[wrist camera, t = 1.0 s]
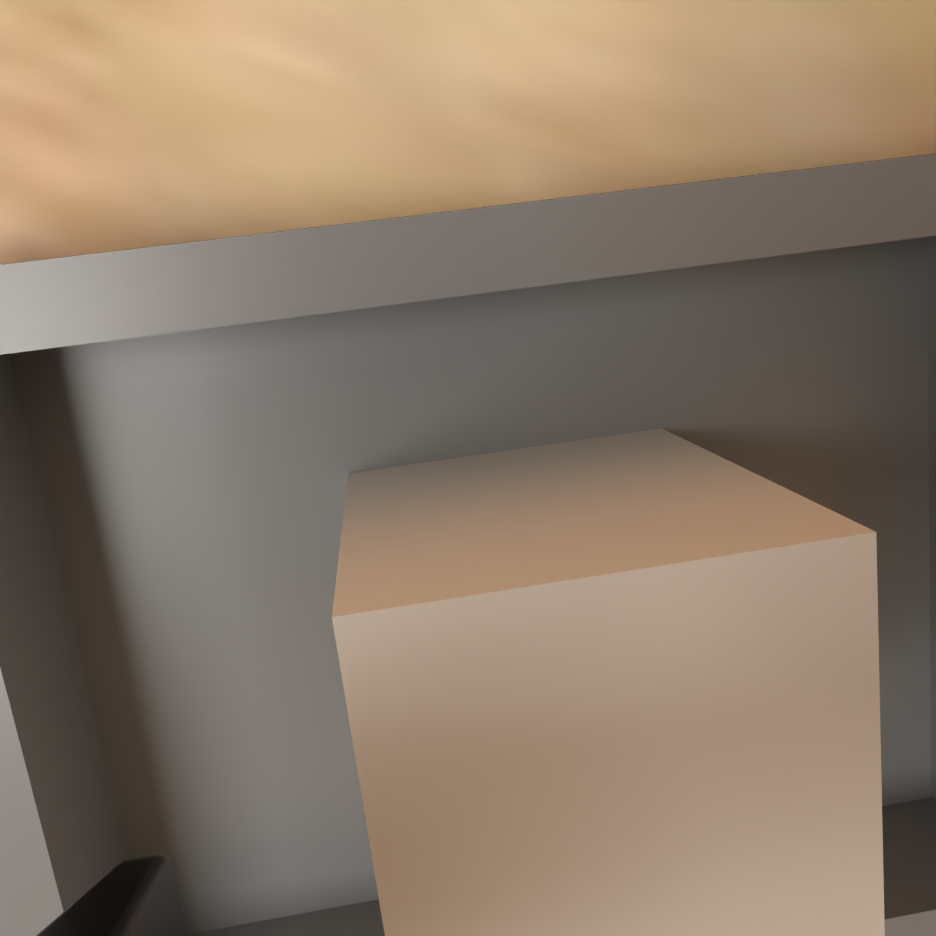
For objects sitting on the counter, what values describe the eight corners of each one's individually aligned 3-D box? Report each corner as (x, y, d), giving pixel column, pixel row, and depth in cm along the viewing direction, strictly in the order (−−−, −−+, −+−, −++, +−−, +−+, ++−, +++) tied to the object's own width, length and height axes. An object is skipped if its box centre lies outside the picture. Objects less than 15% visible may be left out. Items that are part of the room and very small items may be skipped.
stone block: (661, 428, 14) (876, 532, 8) (683, 713, 15) (885, 989, 9) (348, 473, 13) (331, 617, 8) (393, 763, 14) (409, 1085, 9)
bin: (965, 163, 14) (1123, 131, 11) (964, 819, 17) (1091, 933, 14) (-64, 287, 13) (-194, 287, 10) (109, 979, 15) (48, 1144, 12)
